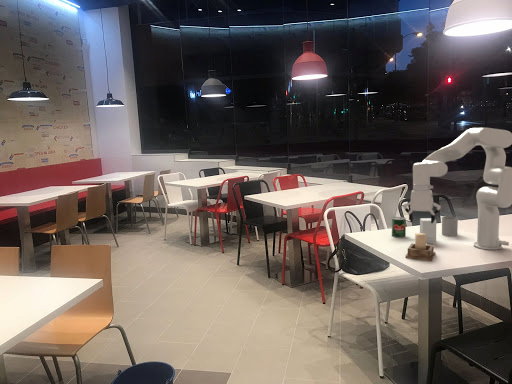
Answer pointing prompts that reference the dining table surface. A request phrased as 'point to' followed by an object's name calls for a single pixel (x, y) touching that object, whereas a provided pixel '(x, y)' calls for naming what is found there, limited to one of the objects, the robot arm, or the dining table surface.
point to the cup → (449, 226)
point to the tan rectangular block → (420, 241)
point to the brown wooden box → (421, 252)
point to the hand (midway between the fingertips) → (421, 222)
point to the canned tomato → (398, 227)
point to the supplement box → (428, 229)
